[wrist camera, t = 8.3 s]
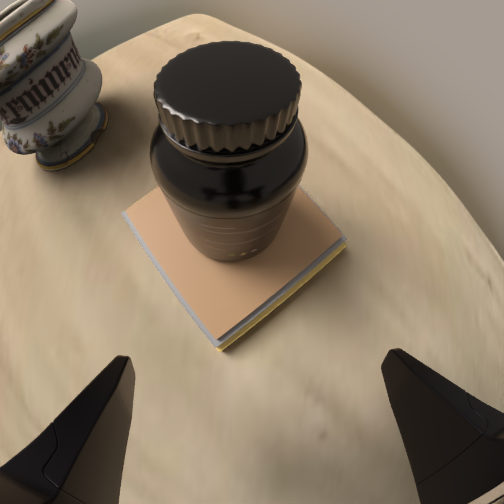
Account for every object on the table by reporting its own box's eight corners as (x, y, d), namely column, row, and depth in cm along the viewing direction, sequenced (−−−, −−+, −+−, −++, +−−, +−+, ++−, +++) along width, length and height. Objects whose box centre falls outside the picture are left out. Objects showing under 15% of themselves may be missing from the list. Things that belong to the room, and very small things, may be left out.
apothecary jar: (87, 184, 22) (-17, 39, 5) (16, 178, 22) (-71, 85, 4) (134, 94, 25) (95, -40, 8) (61, 100, 25) (10, 2, 8)
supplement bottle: (174, 185, 19) (128, 46, 8) (265, 166, 20) (291, 24, 9) (191, 276, 18) (120, 180, 6) (293, 252, 18) (372, 136, 7)
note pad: (220, 351, 19) (218, 354, 16) (129, 223, 21) (117, 210, 18) (341, 250, 21) (354, 240, 19) (244, 145, 24) (246, 127, 21)
